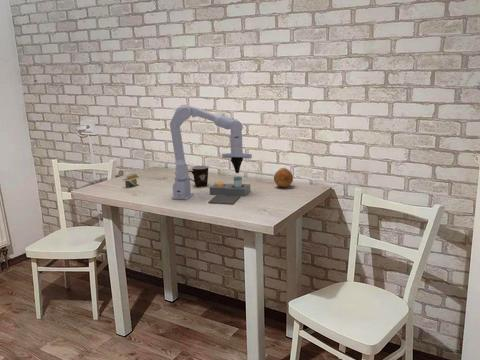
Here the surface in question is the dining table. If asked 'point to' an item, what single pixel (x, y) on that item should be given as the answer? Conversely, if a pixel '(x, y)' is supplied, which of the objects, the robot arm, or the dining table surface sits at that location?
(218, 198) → the mat
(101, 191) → the dining table surface
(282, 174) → the onion
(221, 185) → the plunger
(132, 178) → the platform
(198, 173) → the coffee mug
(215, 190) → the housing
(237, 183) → the cylinder
